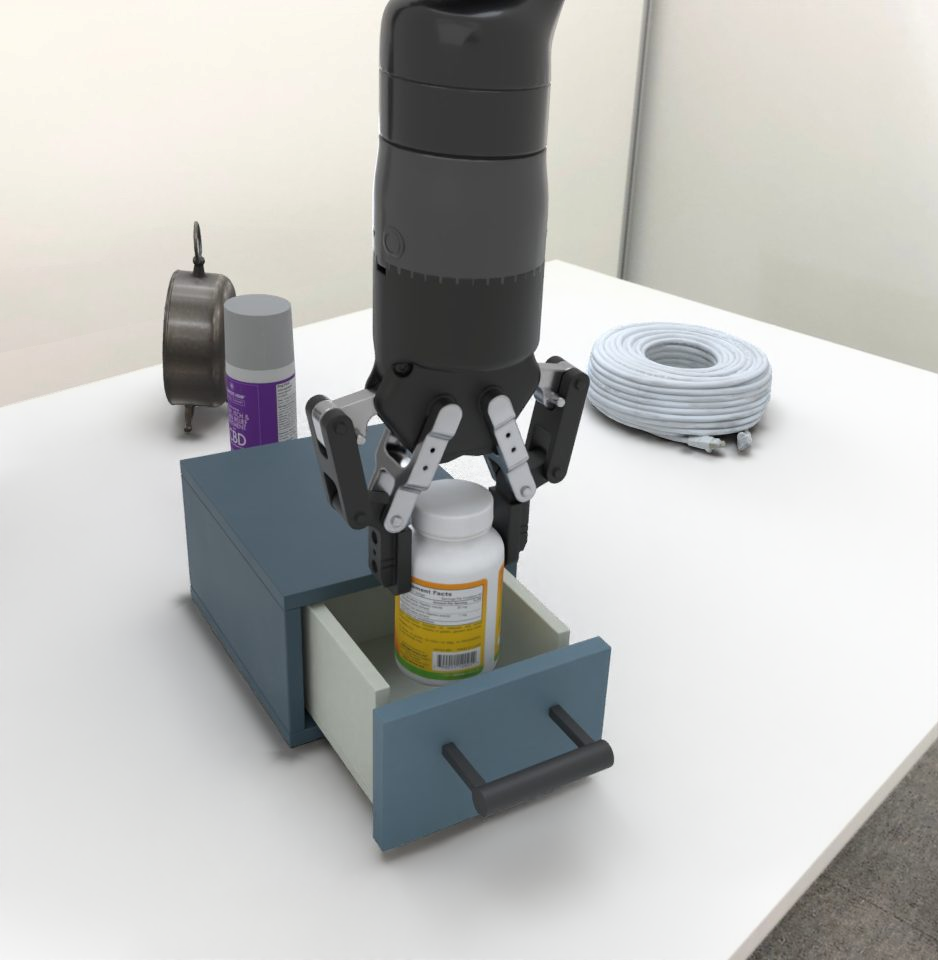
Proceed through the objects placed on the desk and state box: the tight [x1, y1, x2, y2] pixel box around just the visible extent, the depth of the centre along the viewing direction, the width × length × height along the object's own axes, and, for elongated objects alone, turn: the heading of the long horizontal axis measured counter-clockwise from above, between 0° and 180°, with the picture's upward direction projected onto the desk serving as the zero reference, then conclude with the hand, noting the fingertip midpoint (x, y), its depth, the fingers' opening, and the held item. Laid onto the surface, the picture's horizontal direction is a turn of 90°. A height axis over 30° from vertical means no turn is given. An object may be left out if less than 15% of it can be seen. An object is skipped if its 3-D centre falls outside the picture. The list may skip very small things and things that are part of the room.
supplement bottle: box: [395, 478, 504, 687], centre depth 60 cm, size 5×5×10 cm
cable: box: [583, 321, 773, 454], centre depth 110 cm, size 18×18×6 cm
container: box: [224, 293, 299, 451], centre depth 85 cm, size 5×5×15 cm
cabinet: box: [179, 422, 518, 749], centre depth 72 cm, size 17×14×10 cm
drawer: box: [301, 568, 615, 853], centre depth 63 cm, size 20×13×8 cm, turn 36°
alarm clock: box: [161, 220, 237, 434], centre depth 97 cm, size 11×5×16 cm, turn 10°
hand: (449, 570), depth 60 cm, fingers closed on supplement bottle, 5 cm apart
